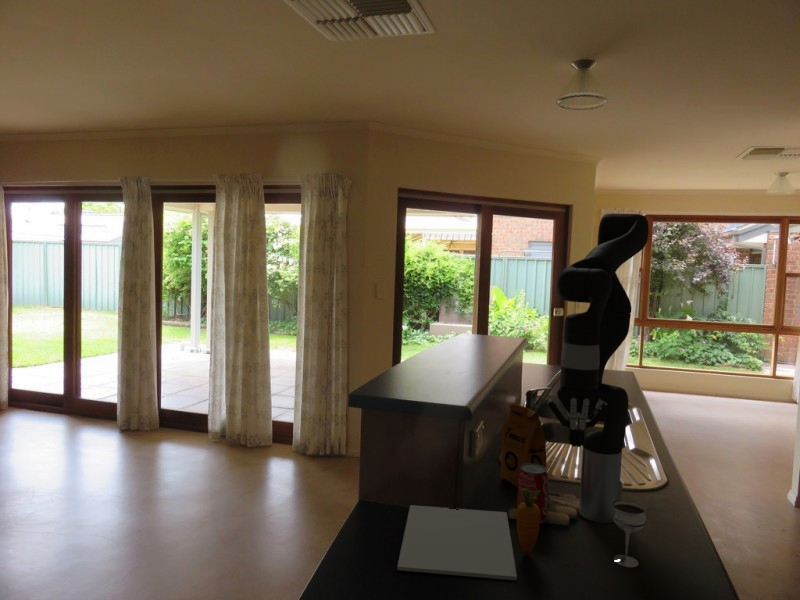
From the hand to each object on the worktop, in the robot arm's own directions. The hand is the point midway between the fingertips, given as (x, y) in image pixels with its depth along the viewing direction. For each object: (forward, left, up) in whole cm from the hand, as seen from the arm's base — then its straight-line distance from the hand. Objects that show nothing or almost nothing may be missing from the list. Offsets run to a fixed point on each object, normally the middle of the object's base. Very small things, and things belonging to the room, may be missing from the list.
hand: (575, 445), depth 120 cm
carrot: (+9, 0, -25) cm, 27 cm away
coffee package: (+6, -38, -25) cm, 46 cm away
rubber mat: (+24, -4, -25) cm, 35 cm away
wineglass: (-12, -1, -25) cm, 28 cm away
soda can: (+6, -17, -25) cm, 31 cm away
